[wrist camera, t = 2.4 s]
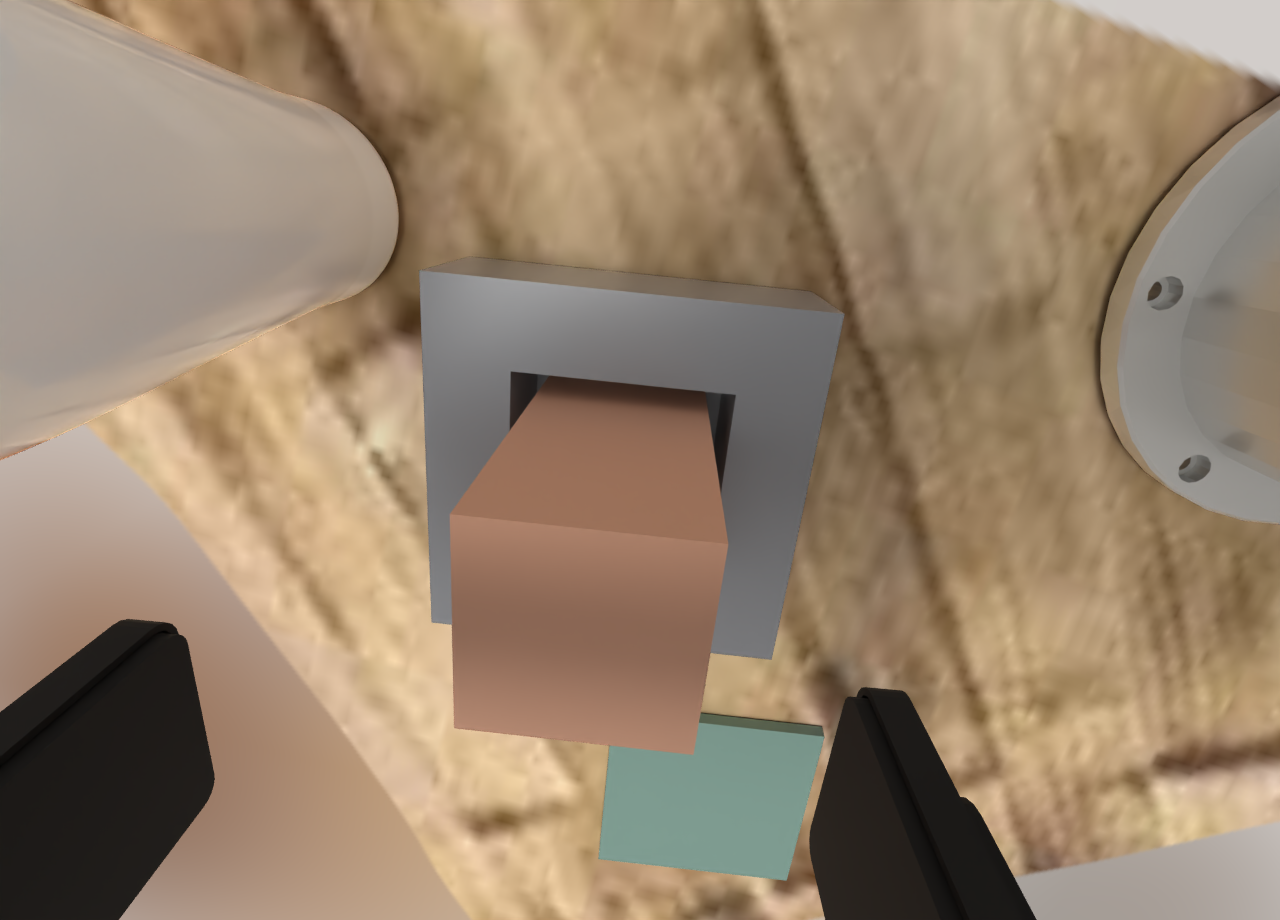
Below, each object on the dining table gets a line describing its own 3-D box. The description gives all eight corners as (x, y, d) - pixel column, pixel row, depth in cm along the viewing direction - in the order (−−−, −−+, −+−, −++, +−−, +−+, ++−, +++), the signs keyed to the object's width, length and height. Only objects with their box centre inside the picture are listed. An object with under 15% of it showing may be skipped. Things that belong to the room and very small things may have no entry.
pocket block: (811, 291, 19) (844, 314, 15) (755, 583, 22) (771, 659, 19) (469, 256, 19) (419, 270, 15) (471, 553, 23) (431, 622, 19)
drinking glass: (230, 17, 17) (-1834, -828, 3) (467, 150, 18) (-272, -21, 4) (174, 255, 19) (-1119, 397, 5) (385, 362, 20) (-254, 722, 6)
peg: (702, 379, 19) (728, 544, 10) (685, 510, 21) (693, 754, 12) (557, 363, 19) (449, 514, 10) (551, 495, 21) (454, 728, 12)
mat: (821, 726, 25) (824, 736, 24) (784, 869, 28) (786, 880, 27) (614, 703, 25) (612, 713, 24) (599, 847, 28) (598, 859, 27)
